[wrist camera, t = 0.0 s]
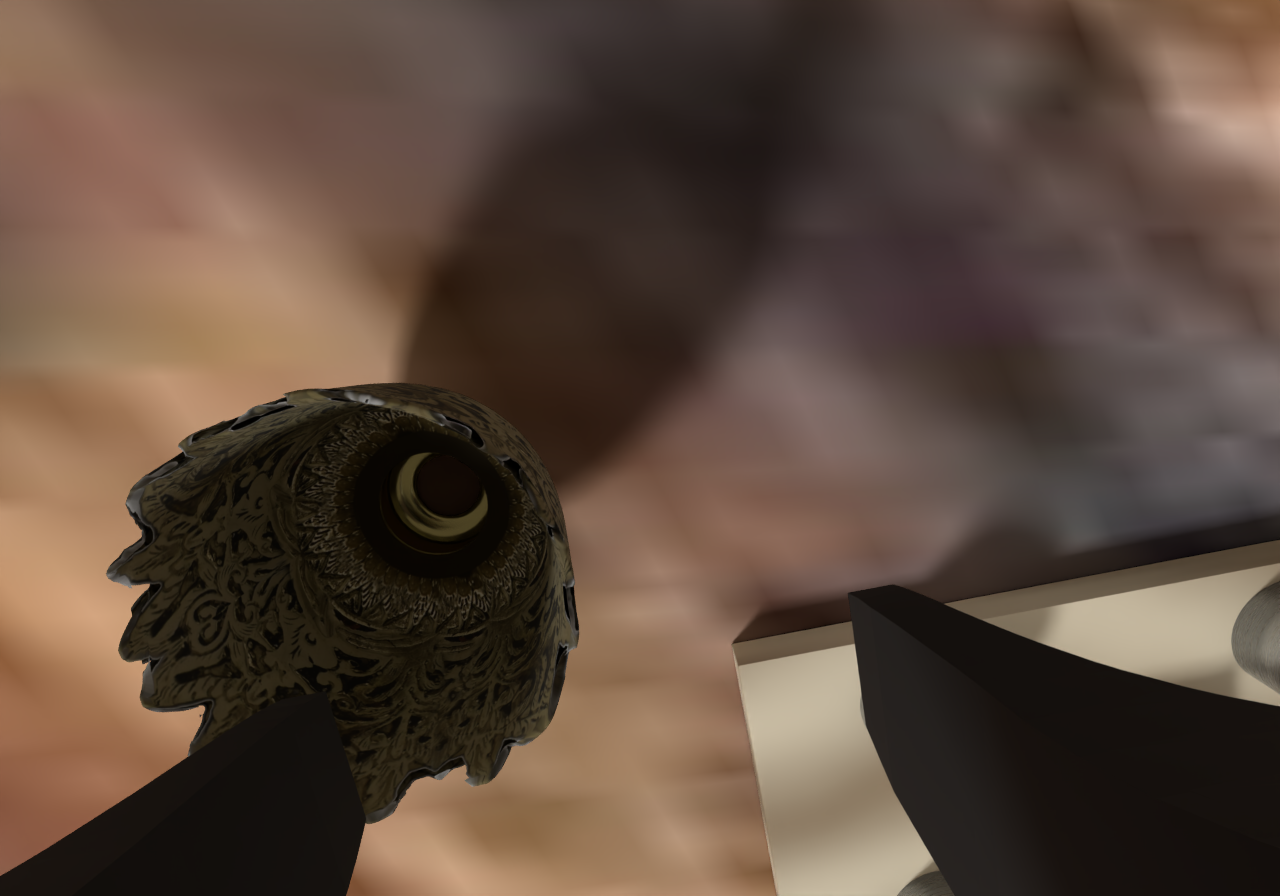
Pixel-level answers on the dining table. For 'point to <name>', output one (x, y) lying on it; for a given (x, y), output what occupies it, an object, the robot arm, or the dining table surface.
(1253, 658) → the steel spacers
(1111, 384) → the dining table surface
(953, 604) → the birch board
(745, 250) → the dining table surface
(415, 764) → the cup
